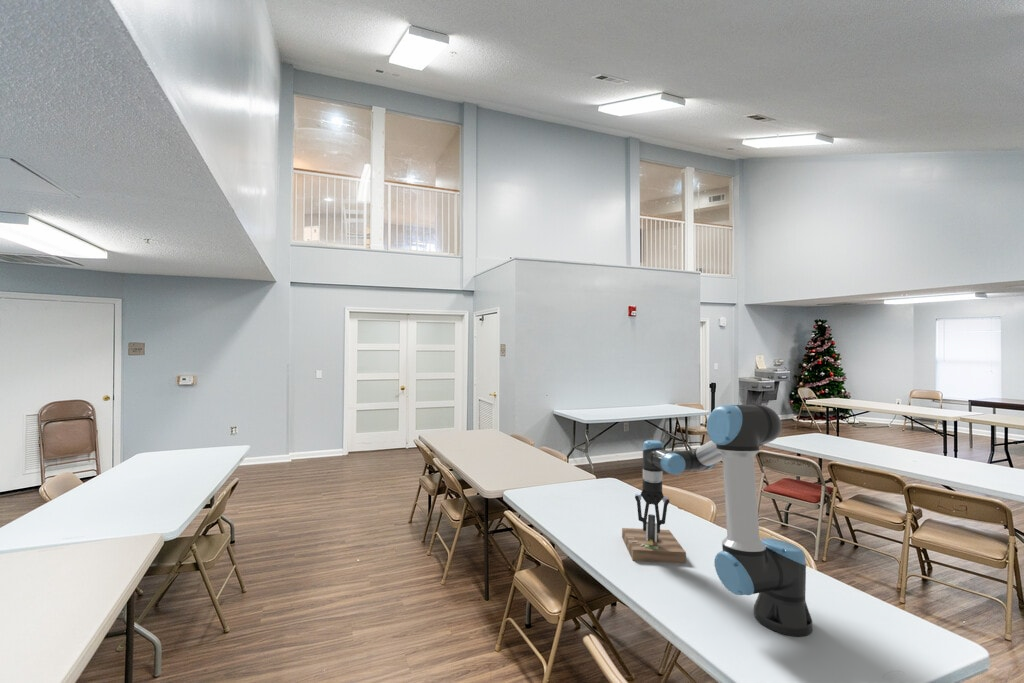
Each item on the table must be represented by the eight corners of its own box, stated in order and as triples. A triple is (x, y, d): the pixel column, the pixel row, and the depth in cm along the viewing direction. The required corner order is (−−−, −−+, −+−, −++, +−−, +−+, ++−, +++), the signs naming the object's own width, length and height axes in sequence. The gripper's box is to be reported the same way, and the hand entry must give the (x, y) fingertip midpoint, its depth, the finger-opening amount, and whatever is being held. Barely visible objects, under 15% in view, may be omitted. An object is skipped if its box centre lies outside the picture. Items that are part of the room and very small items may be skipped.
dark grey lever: (658, 537, 187) (659, 509, 187) (657, 549, 176) (657, 519, 176) (646, 535, 189) (646, 507, 189) (644, 547, 177) (644, 517, 178)
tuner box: (685, 562, 174) (685, 551, 174) (632, 560, 175) (632, 549, 175) (669, 539, 196) (669, 529, 196) (621, 537, 197) (622, 527, 197)
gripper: (673, 479, 181) (672, 539, 181) (632, 475, 186) (631, 533, 186) (673, 485, 174) (672, 546, 174) (631, 480, 179) (630, 540, 179)
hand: (651, 539), depth 180 cm, fingers closed on dark grey lever, 3 cm apart
